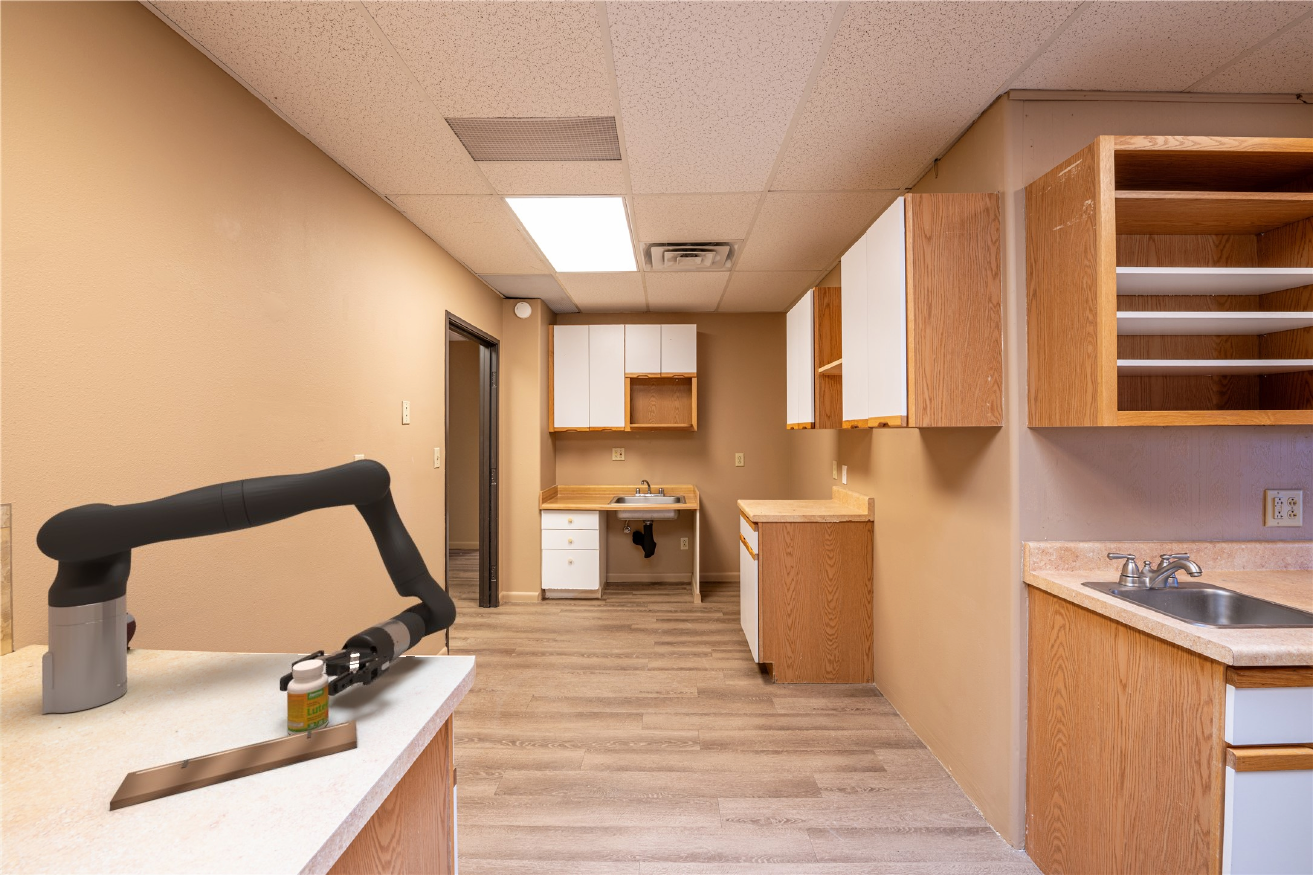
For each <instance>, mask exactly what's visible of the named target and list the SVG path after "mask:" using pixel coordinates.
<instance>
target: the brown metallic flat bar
mask: <svg viewBox="0 0 1313 875" xmlns="http://www.w3.org/2000/svg"><path fill="white" fill-rule="evenodd" d="M356 721H357V720H356V719H355V720H351V721H347V722H343V723H342V722H341V723H337V724H333V725H329V726H325V727H324V728H320V729H316V730H311V731H307V732H303V733H298V734H294V735H291V734H289V735H286V736H281V737H277V738H274V739H269V740H265V741H260V742H256V743H251V744H247V745H243V746H238V747H235V748H230V749H226V750H221V751H217V752H214V753H209V754H205V755H200V756H195V757H192V758H187V759H183V760H179V761H175V762H170V763H166V764H162V765H158V766H153V767H148V768H144V769H139V770H136V771H131V772H127V774H126V775H125V777H124V779H122V780H123V781H122V782H121V784H120V785H119V786H118V788H117V790H116V791H115V793H114V795H113V796H112V798H111V800H110V801H109V811H114V810H117V809H121V808H122V809H123V808H125V807H130V806H133V805H136V804H140V803H145V802H149V801H152V800H156V799H157V800H158V799H161V798H164V797H167V796H168V797H169V796H172V795H173V796H174V795H176V794H180V793H184V792H188V791H192V790H196V789H200V788H203V787H208V786H211V785H216V784H219V783H223V782H227V781H231V780H235V779H240V778H243V777H247V776H251V775H254V774H258V773H262V772H266V771H270V770H274V769H275V770H276V769H278V768H283V767H286V766H290V765H294V764H298V763H301V762H305V761H309V760H313V759H317V758H322V757H325V756H328V755H329V756H330V755H333V754H337V753H341V752H345V751H348V750H352V749H355V748H357V747H358V742H357V741H358V739H357V738H358V736H357V722H356Z"/></svg>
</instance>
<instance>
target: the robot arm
mask: <svg viewBox="0 0 1313 875" xmlns="http://www.w3.org/2000/svg"><path fill="white" fill-rule="evenodd" d="M344 506H354V507H355V508H356V510H357V511H358V512H359V514H360V515H361V517H362V519H363V520H364V521H365V523H366V525H367V527H368V529H369V531H370V533H371V535H372V537H373V540H374V542H375V544H376V547H377V550H378V553H379V555H380V557H381V560H382V563H383V565H384V567H385V570H386V571H387V574H388V576H389V578H390V580H391V582H392V584H393V586H394V588H395V590H396V593H397V594H398V595H399V596H400V597H402V598H410V597H414V598H415V597H416V598H417V599H418V600H420V601H421V602H419V603H416V604H414V605H411V606H410V607H408V608H406V609H404V610H403V611H402V612H400V613H398V614H397V615H396V614H395V615H394V616H393V617H391V618H388V619H387V620H385V621H380V622H378V623H376V624H373V625H372V626H369V627H368V628H366V629H364V630H363V631H360V632H358V633H356V634H354V635H353V636H350V637H349V638H348V639H347V640H346V641H345V643H344V644H343V646H342V648H341V649H340V650H335V651H334V652H332V653H331V654H329V653H328V654H325V650H323V649H321V650H317V651H315V652H313V653H310V654H309V655H308V654H307V655H306V656H304V657H302V658H300V659H297V660H295V661H294V662H291V672H289V673H286V674H284V675H283V676H281V677H280V678H279V691H280V692H287V687H288V684H289V683H290V682H291V681H292V680H293V679H294V678H293V675H292V674H293V666H294V665H296V664H298V663H300V662H303V661H307V660H322V661H323V667H324V666H325V672H323V673H324V674H326V675H327V676H328V679H329V678H332V677H335V678H333V679H332V680H329V684H328V695H329V697H330V696H331V697H335V696H337V695H338V694H339V693H341V692H344V691H345V690H346V689H348V688H350V687H356V686H358V685H359V683H360V684H361V683H362V686H369V685H371V684H373V683H374V682H376V680H378V679H379V678H381V677H382V676H384V675H385V674H386V673H388V672H389V671H390V664H391V663H392V662H394V661H395V660H397V659H399V658H400V657H401V656H402V655H403V654H404V653H405V652H408V651H409V650H411V649H412V648H414V647H415V646H417V645H418V644H419V643H420V642H421V641H422V639H423V638H425V637H428V636H429V635H430V636H431V635H433V634H435V633H438V632H441V631H444V630H446V629H449V628H450V627H452V626H453V625H454V623H455V621H456V619H457V608H456V605H455V602H454V601H453V599H452V597H451V596H450V595H449V594H448V593H447V592H446V591H445V589H444V588H443V587H442V586H441V585H440V583H438V581H437V580H435V578H434V577H433V576H432V575H431V573H430V571H429V569H428V566H427V565H426V563H425V561H424V559H423V556H422V554H421V552H420V550H419V548H418V547H417V545H416V543H415V541H414V540H413V537H411V535H410V533H409V531H408V529H407V528H406V526H405V524H404V522H403V521H402V518H401V517H400V514H399V512H398V510H397V507H396V504H395V501H394V498H393V494H392V491H391V475H390V472H389V471H388V469H387V467H386V466H385V465H383V464H382V463H381V462H379V461H377V460H374V459H369V458H368V459H367V458H363V459H362V458H361V459H358V460H353V461H350V462H348V463H347V462H346V463H344V464H340V465H337V466H336V465H335V466H332V467H328V468H324V469H320V470H315V471H310V472H306V473H305V472H304V473H303V472H302V473H293V474H291V473H290V474H280V475H279V474H277V475H270V476H269V475H268V476H267V475H266V476H258V477H251V478H244V479H243V478H242V479H238V480H232V481H224V482H221V483H220V482H219V483H215V484H210V485H206V486H202V487H196V488H194V489H189V490H186V491H181V492H179V493H174V494H172V495H168V496H165V497H162V498H161V497H160V498H158V499H153V500H149V501H142V502H137V503H128V504H119V505H113V504H109V503H100V502H97V503H95V502H94V503H88V504H82V505H79V506H75V507H71V508H68V509H65V510H61V511H60V512H57V514H54V515H53V516H51V517H50V518H48V520H46V521H45V522H44V523H43V524H42V525H41V526H40V528H39V530H38V531H37V534H36V539H35V542H36V546H37V548H38V550H39V551H40V552H41V554H43V555H45V556H46V557H47V558H49V559H52V560H54V561H58V563H57V564H58V565H57V571H56V575H55V578H54V580H53V582H52V584H51V585H50V587H49V589H48V592H47V626H48V627H47V631H48V632H47V634H48V636H47V637H48V638H47V642H48V643H47V644H48V646H47V648H48V650H47V651H46V652H45V653H44V654H42V657H41V659H42V660H41V669H42V670H41V671H42V673H41V676H42V677H41V678H42V680H41V681H42V682H41V683H42V684H41V685H42V691H41V693H42V694H41V696H42V699H41V700H42V701H41V702H42V705H41V707H42V708H41V709H42V710H41V711H42V715H44V714H51V713H53V714H56V713H57V714H62V713H64V714H65V713H72V712H80V711H83V710H87V709H92V708H96V707H99V706H102V705H105V704H108V703H111V702H112V701H115V700H117V699H119V698H120V697H122V696H124V695H125V694H126V693H127V691H128V665H127V664H128V659H127V658H128V655H127V654H128V650H127V609H128V608H127V607H128V606H127V603H128V602H127V601H128V600H127V585H128V581H129V578H130V574H131V571H132V570H131V568H132V549H136V548H141V547H144V546H149V545H152V544H158V543H161V542H170V541H177V540H178V541H179V540H185V539H192V538H200V537H205V536H206V537H207V536H208V537H209V536H213V535H220V534H225V533H232V532H237V531H242V530H246V529H250V528H251V529H252V528H256V527H260V526H264V525H269V524H272V523H276V522H279V521H280V522H281V521H282V520H287V519H290V518H293V517H296V516H298V515H301V514H304V513H308V512H311V511H316V510H322V509H327V508H328V509H329V508H337V507H344Z"/></svg>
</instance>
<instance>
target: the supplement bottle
mask: <svg viewBox="0 0 1313 875" xmlns="http://www.w3.org/2000/svg"><path fill="white" fill-rule="evenodd" d="M324 673H325V672H324V666H323V661H322V660H307V661H303V662H300V663H298V664H296V665H294V666H293V674H292V675H293V678H294V679H293V680H292V681H291V682H290V683H289V684H288V687H287V691H286V696H287V697H286V698H287V699H286V700H287V702H286V704H287V705H286V706H287V708H286V709H287V710H286V711H287V712H286V713H287V716H286V717H287V719H286V720H287V721H286V722H287V723H286V724H287V725H286V727H287V728H286V729H287V732H288V734H289V735H294V734H298V733H303V732H307V731H311V730H316V729H320V728H324V727H327V724H328V722H329V717H330V716H329V713H330V709H329V706H330V704H329V699H330V698H329V697H330V696H329V695H328V684H329V682H330V680H329V678H328V676H327V675H326V674H324Z"/></svg>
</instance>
